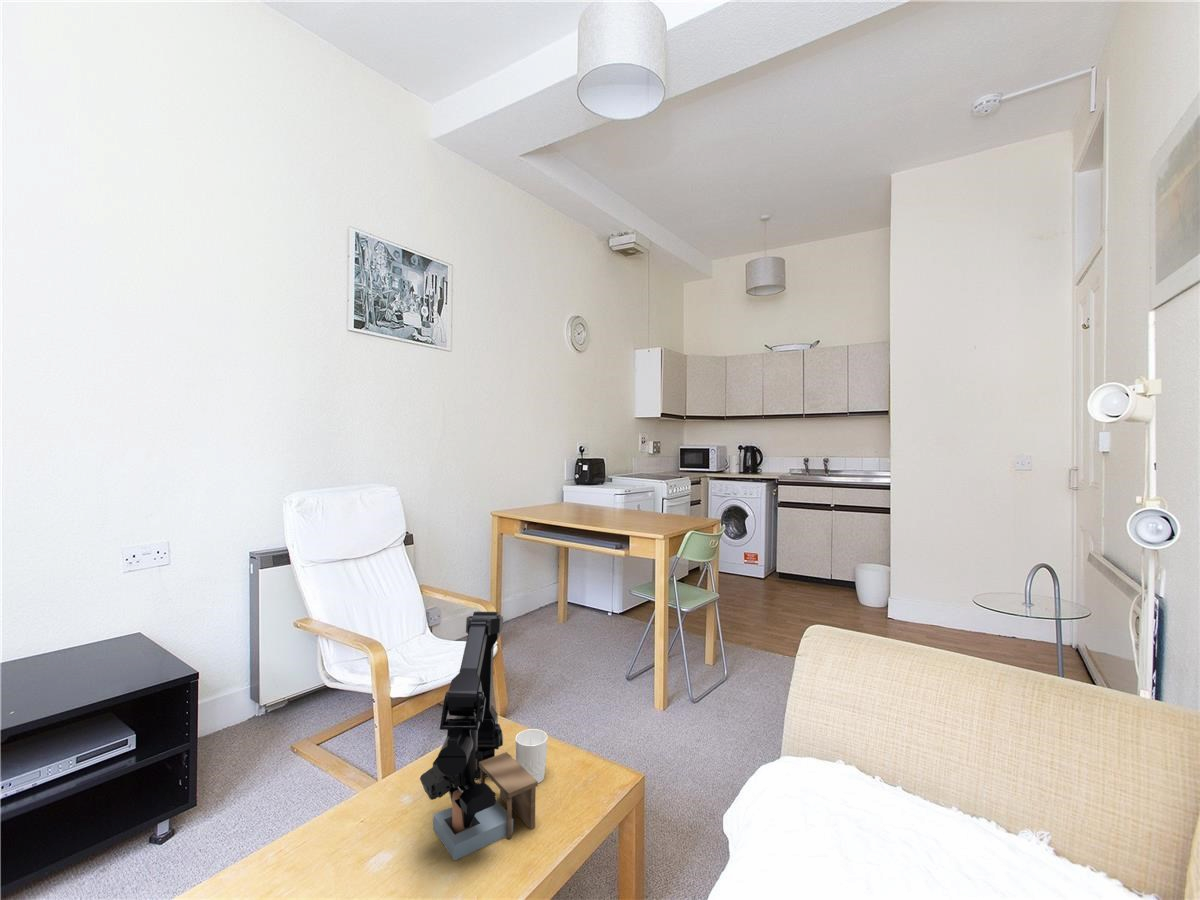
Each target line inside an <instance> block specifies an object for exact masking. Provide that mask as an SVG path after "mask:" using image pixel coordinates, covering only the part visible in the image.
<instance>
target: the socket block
mask: <svg viewBox="0 0 1200 900" xmlns="http://www.w3.org/2000/svg"><path fill="white" fill-rule="evenodd" d="M432 819H433V821H432V822H433V824H432V825H433V831H434V832H435V834H436V835H437V837H438V838H439V840H440V841H441V843H442V844H443V846H444V847H445V849H446V850H447V852H448V853H449V855H450V856H451V858H452V859H453V861H457V860H460V859H462V858H463V857H466V856H468V855H469V854H471V853H474V852H476V851H478V850H480V849H482V848H484V847H487V846H488V845H491V844H492V843H495V842H497V841H499V840H501V839H503V838H505V837H506V832H507V809H505V807H503V806H502V804H501V803H500V802H499V801H498V800H497V799H496V803H495V805H494V806H491V807H489V808H487V809H484V810H482V811H480V812H477V813H476V814H475V816H474V818H473V820H472V827H471V828H469V829H467V830H464V831H462V832H460V833H458V834H454V833H453V832H452V806H451V807H448V808H446V809H444V810H441V811H439V812H436V813H434V814H433V817H432ZM513 833H514V818H513V817H512V823H511V835H512V834H513Z"/></svg>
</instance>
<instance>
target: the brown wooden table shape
mask: <svg viewBox="0 0 1200 900" xmlns="http://www.w3.org/2000/svg"><path fill="white" fill-rule="evenodd" d="M479 767H480V772H481V777H480V778H479V779H480V780H479V783H481V784H482V783H486V782H485V781H486V779H485V778H486V777H488V778H489V779H490V780H491V781H492V783H494V784H495V786H496V787H497V788H498V789H499V796H500V798H502V800H503V801H504V802H505V803H506V811H507V832H506V838H505V839H507V840H510V839H512V834H511V823H512V818H513V817H512V816H513V815H512V814H513V811H514V813H515V814H516V815H517V817H519V818H520V820H522V822H523V823H524V824H525V825H526V827H528V829H529V830H533V829H535V828H536V795H537V794H536V791H537V789H536V787H538V785H539V783H538V781H537V780H536V779H535V778H534V777H533V776H532V775H530V774H529V773H528V772H527V771H526V770H525V769H524V768H523V767H522V766H521V765H520V764H519V763H518V762H517V761H516V759H515V758H513V757H512V756H511V755H510V754H509V753H508V752H507V751H506V752H502V753H500V754H496V755H495V756H494V757H491V758H489V759H486V760H483V761H481V762H479ZM485 774H486V775H487V776H485Z"/></svg>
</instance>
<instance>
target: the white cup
mask: <svg viewBox="0 0 1200 900" xmlns="http://www.w3.org/2000/svg"><path fill="white" fill-rule="evenodd" d="M514 739H515V760H516V761H517V762H518V763H519V764H520V765H521V766H522V767H523V768H524V769H525V770H526V771H527V772H528V773H529V774H530V775H532V776H533V777H534V778H535V779H536V780H537V781H538V784H541V783H542V781H543V780H544V779H545V775H546V763H547V756H548V755H547V752H548V734H547V732H545V731H544V730H541V729H537V728H527V729H524V730H522V731H520V732H518V733H517V734H516V735H515V738H514Z"/></svg>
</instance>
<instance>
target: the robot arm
mask: <svg viewBox="0 0 1200 900" xmlns="http://www.w3.org/2000/svg"><path fill="white" fill-rule="evenodd" d="M503 626H504V617H503V615H501V614H500V613H499V611H473V615H469V616H467V617H466V621H465V633H466V634H467V638H466V642H465V646H464V651H463V655H462V658H461V659H462V660H461V665H460V668H459V671H458V673H457V674H456V675H455V676H454V677H453V678H452V680H451V682H450V685H449V689H448V691H446V692H445V694H444V700H443V706H442V712H441V719H440V725H439V730H443V731H446V730H447V731H446V733H447V734H446V737H445V740H444V742H443V744H442V745H441V749H440V750H439V752H438V755H437V757H436V759H435V760H434V761H433V763H432V767H430V768H429V769H428V770H426V771H425V772H424V773H422V774H421V776H420V777H419V780H420V782H421V784H422V787H423V790H424V792H425V794H427V797H429V799H430V800H431V801H434V800H437V799H438V798H442V797H443V796H445V795H446V794H447V793H448V794H449V798H450V801H451V803H452V798H453V792H454V791H455V790H456V789H458V788H459V790H460V791H461V792H463V793H462V794H461V796H460V799H457V800H455V802H456V804H457V805H458V806H459V808H461V811H462V819H463V826H464V828H467V827H469V826H470V824H471V822H472V820H473V818H474V816H475V814H476V813H477V812H480V811H482V810H484V809H487V808H489V807H491V806H494V805H495V803H496V800H497V799H496V797H497V796H496V795H497V794H496V792H495V791H494V789H492V787H490V785H489V784H488V783H486V782H485V783H482V784H481V783H480V782H476V781H475V779H476V780H479V779H480V777H481V772H480V767H479V762H481V761H483V760H486V759H489V758H491V757H494V756H496V755H495V754H496V753H495V752H496V750H499V749H500V747H503V744H504V736H503V731H502V727H501V724H500V723H499V715H498V712H497V711H496V709H495V707H494V705H493V678H494V677H493V676H494V646H495V644H496V643H497V641H498V639H499V637H500V636H501V632H502V631H503V629H504V628H503ZM448 715H449V717H453V718H448ZM485 777H488V776H487V775H486V774H485Z"/></svg>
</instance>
